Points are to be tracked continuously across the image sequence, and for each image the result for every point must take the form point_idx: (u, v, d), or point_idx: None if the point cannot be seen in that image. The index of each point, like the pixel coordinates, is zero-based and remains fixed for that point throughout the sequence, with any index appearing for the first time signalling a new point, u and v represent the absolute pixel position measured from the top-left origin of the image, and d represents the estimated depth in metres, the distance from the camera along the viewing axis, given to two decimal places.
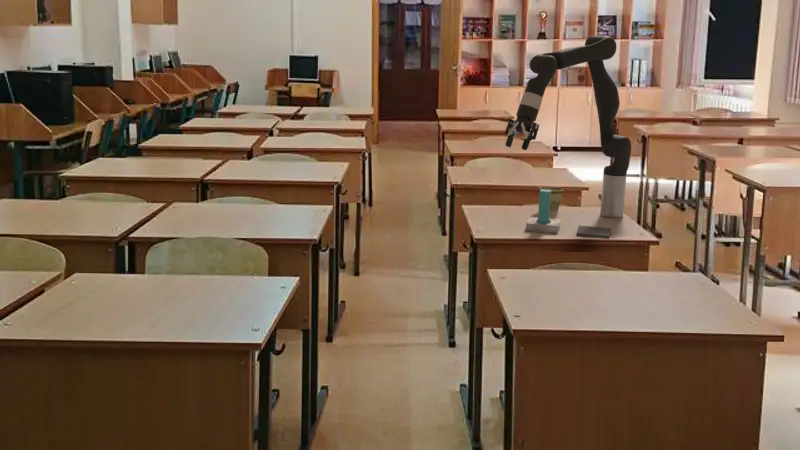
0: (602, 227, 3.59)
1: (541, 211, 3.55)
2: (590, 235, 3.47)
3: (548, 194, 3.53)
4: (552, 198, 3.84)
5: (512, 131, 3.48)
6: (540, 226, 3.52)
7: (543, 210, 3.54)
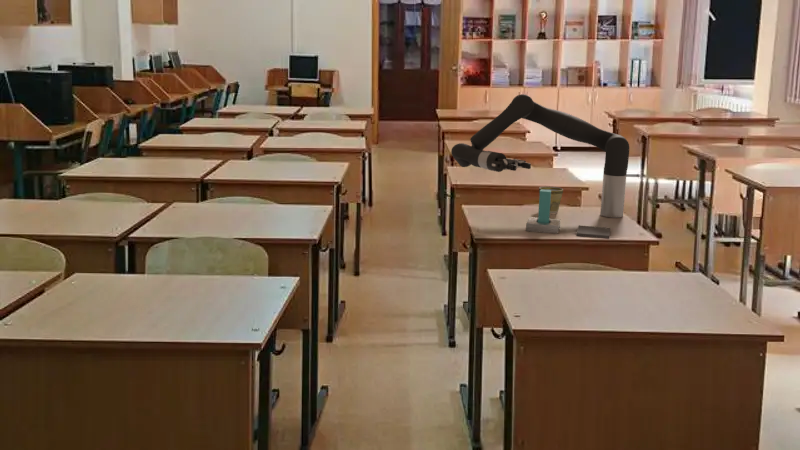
0: (602, 227, 3.59)
1: (541, 211, 3.55)
2: (590, 235, 3.47)
3: (548, 194, 3.53)
4: (552, 198, 3.84)
5: (516, 168, 3.68)
6: (540, 226, 3.52)
7: (543, 210, 3.54)
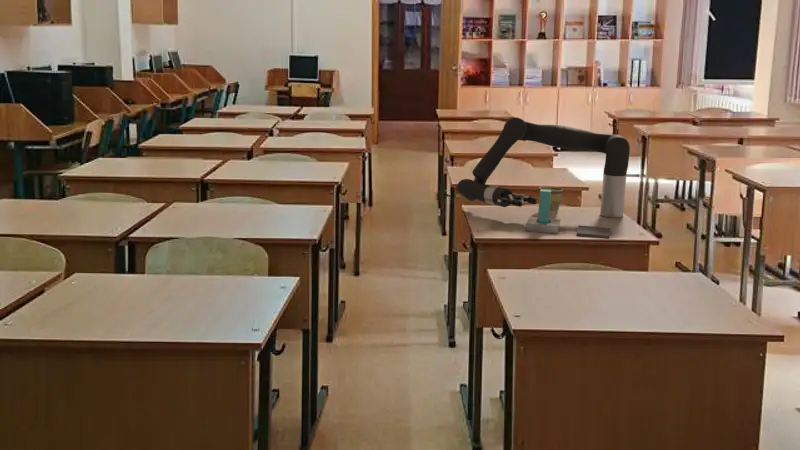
0: (602, 227, 3.59)
1: (541, 211, 3.55)
2: (590, 235, 3.47)
3: (548, 194, 3.53)
4: (552, 198, 3.84)
5: (522, 203, 3.68)
6: (540, 226, 3.52)
7: (543, 210, 3.54)
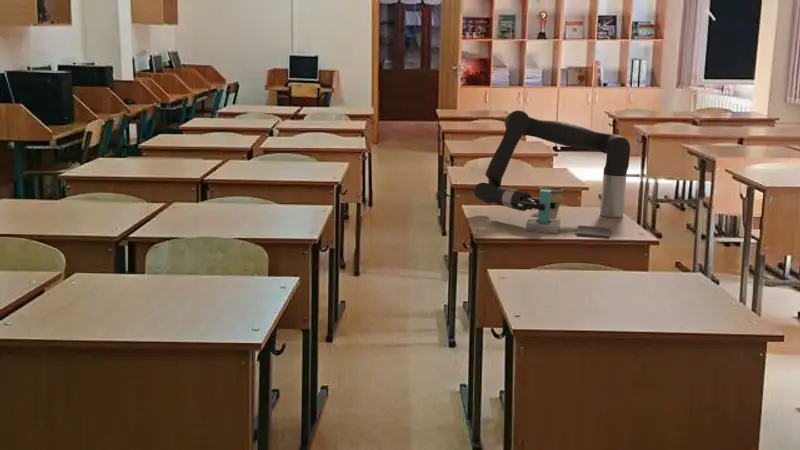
0: (602, 227, 3.59)
1: (541, 211, 3.55)
2: (590, 235, 3.47)
3: (548, 194, 3.53)
4: (552, 198, 3.84)
5: None
6: (540, 226, 3.52)
7: None
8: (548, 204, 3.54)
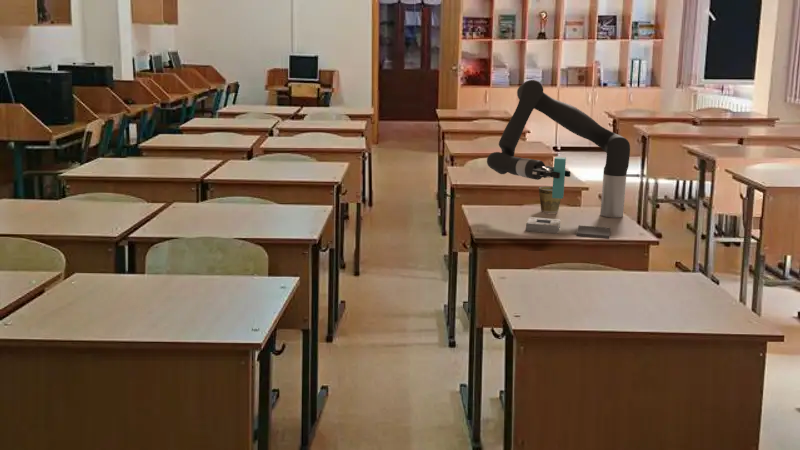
0: (602, 227, 3.59)
1: (555, 179, 3.51)
2: (590, 235, 3.47)
3: (563, 161, 3.49)
4: (552, 198, 3.84)
5: None
6: (540, 226, 3.52)
7: (558, 178, 3.51)
8: (563, 172, 3.50)
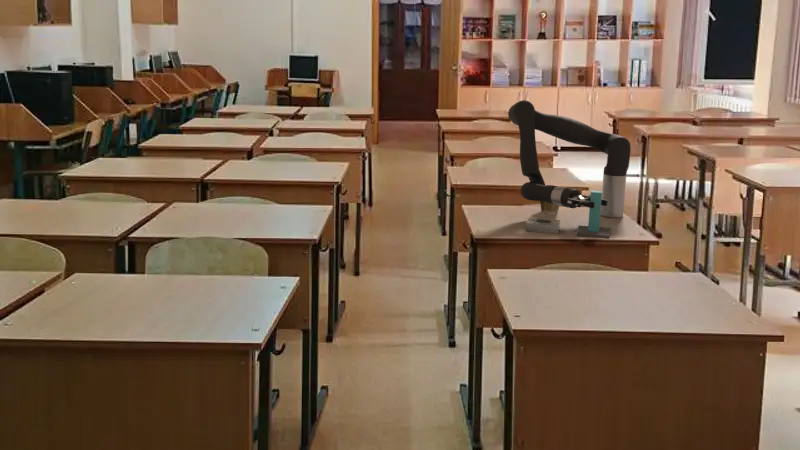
0: (602, 227, 3.59)
1: (591, 213, 3.50)
2: (590, 235, 3.47)
3: (599, 195, 3.48)
4: None
5: None
6: (540, 226, 3.52)
7: (594, 211, 3.50)
8: (599, 205, 3.49)
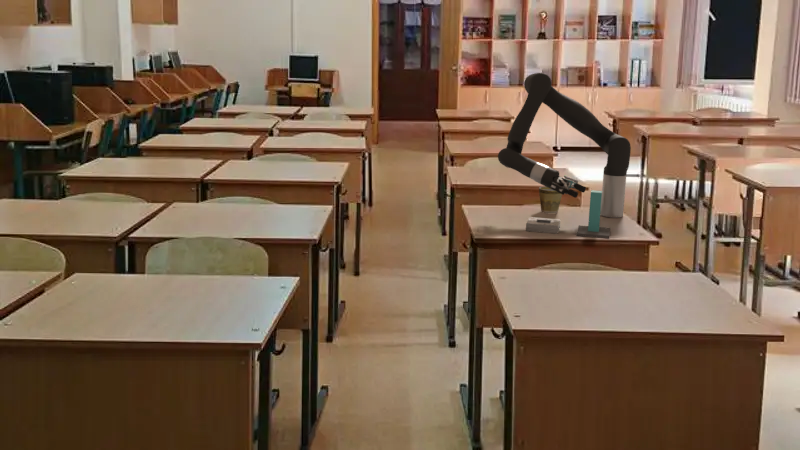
0: (602, 227, 3.59)
1: (591, 213, 3.50)
2: (590, 235, 3.47)
3: (599, 195, 3.48)
4: (552, 198, 3.84)
5: (569, 188, 3.66)
6: (540, 226, 3.52)
7: (594, 211, 3.50)
8: (599, 205, 3.49)
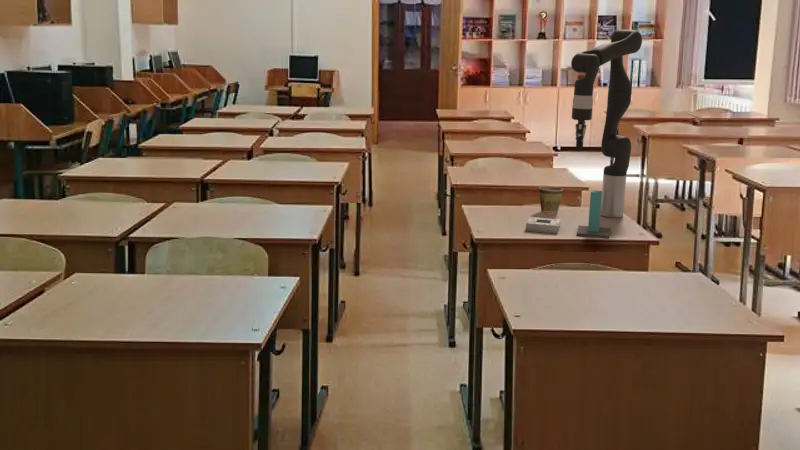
0: (602, 227, 3.59)
1: (591, 213, 3.50)
2: (590, 235, 3.47)
3: (599, 195, 3.48)
4: (552, 198, 3.84)
5: None
6: (540, 226, 3.52)
7: (594, 211, 3.50)
8: (599, 205, 3.49)
